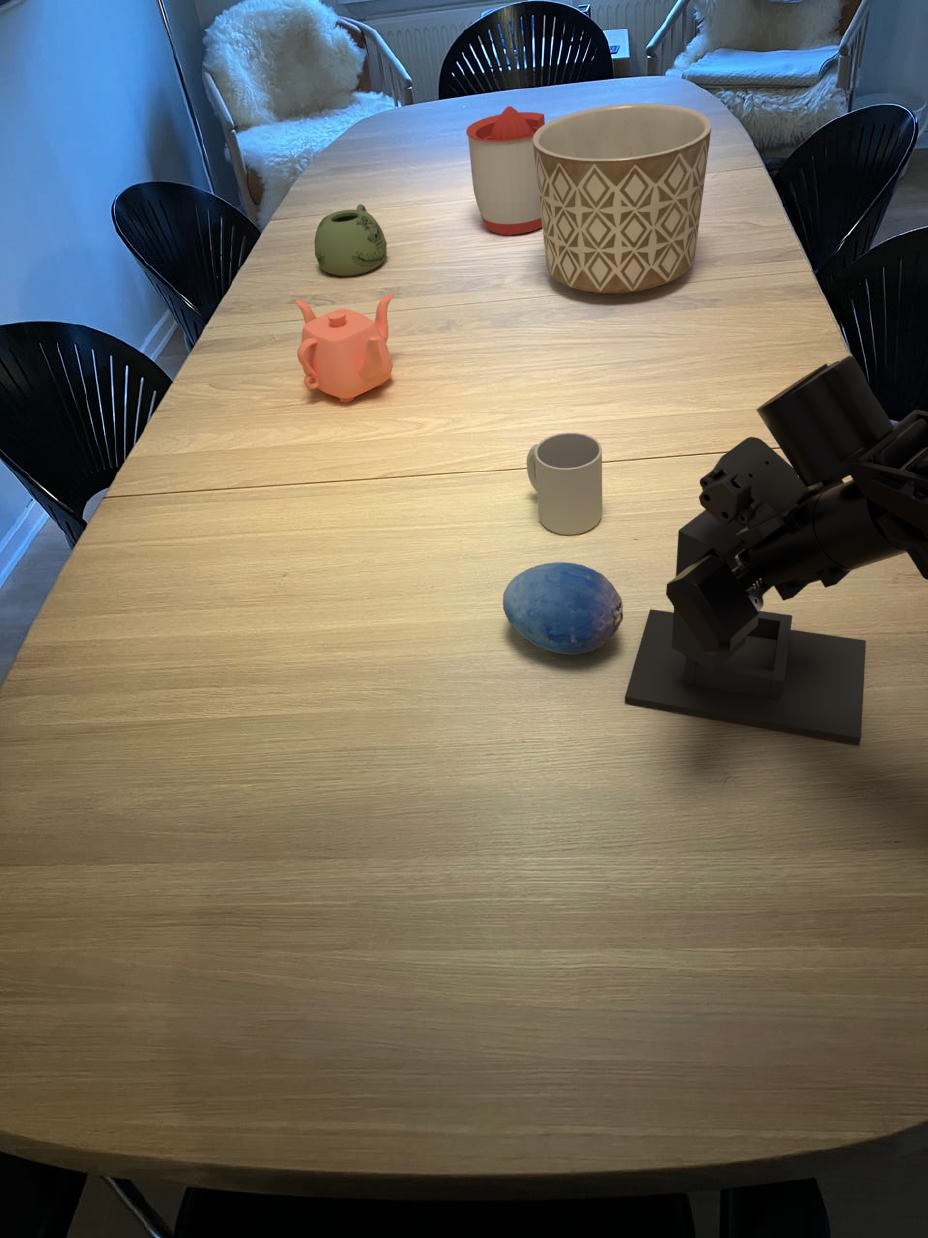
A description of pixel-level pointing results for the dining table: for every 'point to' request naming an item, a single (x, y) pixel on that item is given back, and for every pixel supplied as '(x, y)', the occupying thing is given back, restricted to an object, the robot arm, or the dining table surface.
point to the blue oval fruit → (563, 607)
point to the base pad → (758, 679)
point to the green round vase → (349, 242)
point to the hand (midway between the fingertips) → (700, 582)
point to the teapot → (345, 350)
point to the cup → (567, 482)
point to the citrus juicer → (506, 171)
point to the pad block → (691, 547)
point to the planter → (621, 194)
